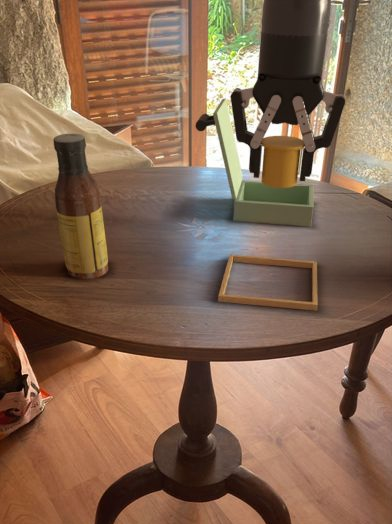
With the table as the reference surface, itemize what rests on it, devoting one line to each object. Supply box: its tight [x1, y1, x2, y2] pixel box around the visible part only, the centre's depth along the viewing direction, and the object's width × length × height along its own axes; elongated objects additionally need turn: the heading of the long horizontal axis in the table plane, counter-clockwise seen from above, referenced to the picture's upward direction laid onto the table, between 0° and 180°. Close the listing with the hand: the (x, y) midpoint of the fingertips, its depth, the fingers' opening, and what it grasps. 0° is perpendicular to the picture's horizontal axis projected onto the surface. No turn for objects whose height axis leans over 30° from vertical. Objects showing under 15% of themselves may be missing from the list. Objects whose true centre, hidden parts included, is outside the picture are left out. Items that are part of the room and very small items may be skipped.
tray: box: [217, 254, 318, 311], centre depth 81 cm, size 13×13×2 cm
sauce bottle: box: [53, 133, 109, 280], centre depth 79 cm, size 7×6×20 cm
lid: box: [195, 97, 244, 200], centre depth 100 cm, size 14×12×5 cm
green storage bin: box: [232, 179, 315, 228], centre depth 104 cm, size 14×12×4 cm
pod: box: [260, 135, 305, 188], centre depth 73 cm, size 6×6×5 cm
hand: (279, 177), depth 74 cm, fingers closed on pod, 5 cm apart
